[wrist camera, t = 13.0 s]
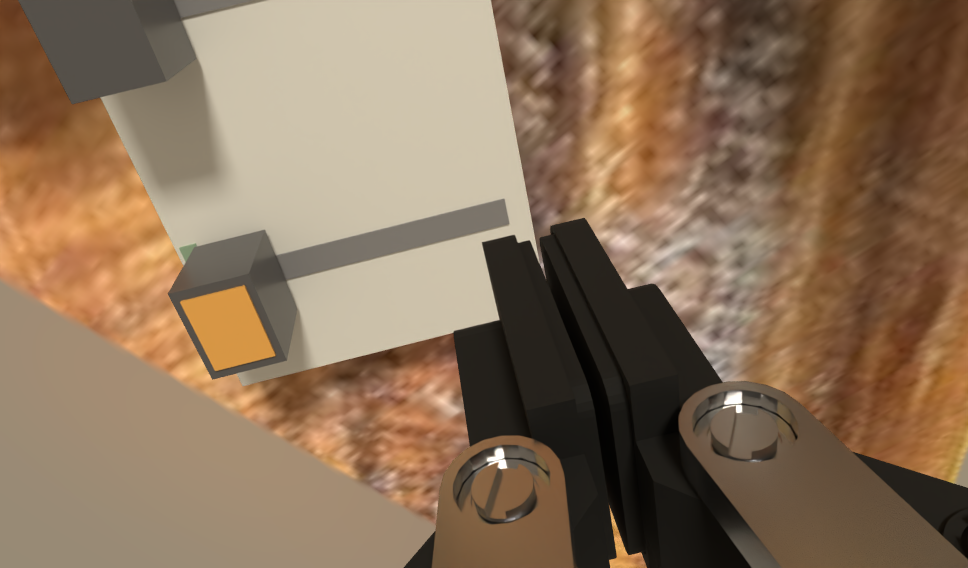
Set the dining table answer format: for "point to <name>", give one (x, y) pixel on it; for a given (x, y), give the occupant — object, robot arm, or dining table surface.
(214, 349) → the block
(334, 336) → the panel
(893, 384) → the dining table surface
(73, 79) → the breaker handle
